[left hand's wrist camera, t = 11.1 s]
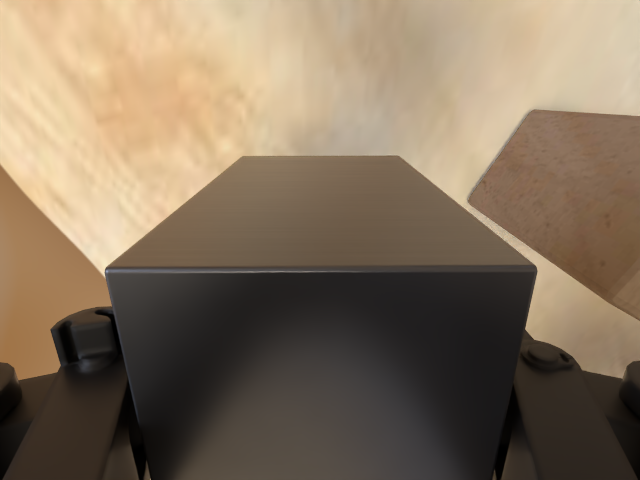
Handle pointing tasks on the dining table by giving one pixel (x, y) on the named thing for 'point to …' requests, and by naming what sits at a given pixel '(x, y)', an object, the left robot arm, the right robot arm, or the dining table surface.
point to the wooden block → (573, 198)
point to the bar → (321, 327)
